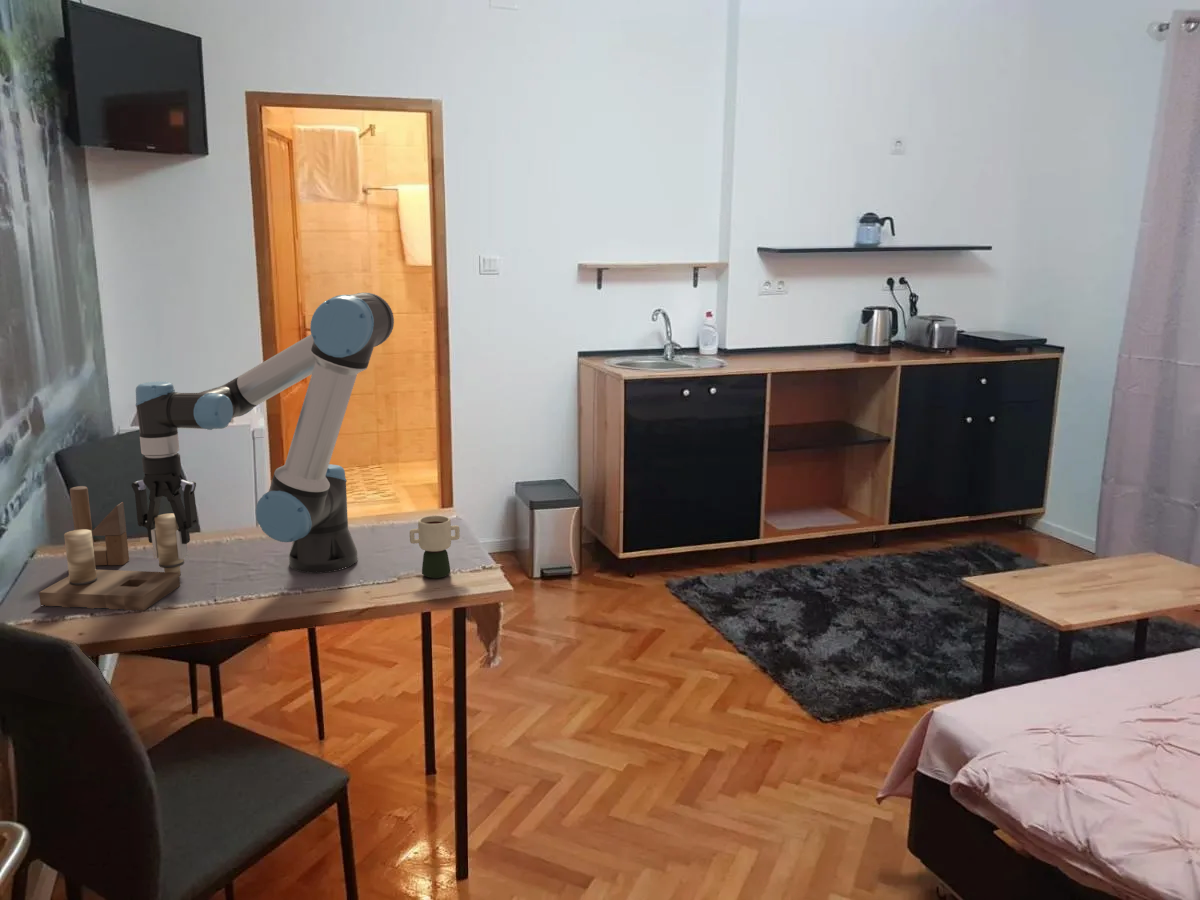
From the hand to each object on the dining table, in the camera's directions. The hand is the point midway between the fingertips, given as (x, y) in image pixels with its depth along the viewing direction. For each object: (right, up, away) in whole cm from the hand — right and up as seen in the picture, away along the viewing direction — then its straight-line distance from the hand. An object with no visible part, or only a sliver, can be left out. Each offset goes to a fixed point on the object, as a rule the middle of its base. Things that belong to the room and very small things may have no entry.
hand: (171, 556), depth 212 cm
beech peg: (0, -4, +1) cm, 4 cm away
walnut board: (-7, -7, -11) cm, 15 cm away
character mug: (+58, -5, +2) cm, 58 cm away
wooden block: (-19, -3, +9) cm, 21 cm away
